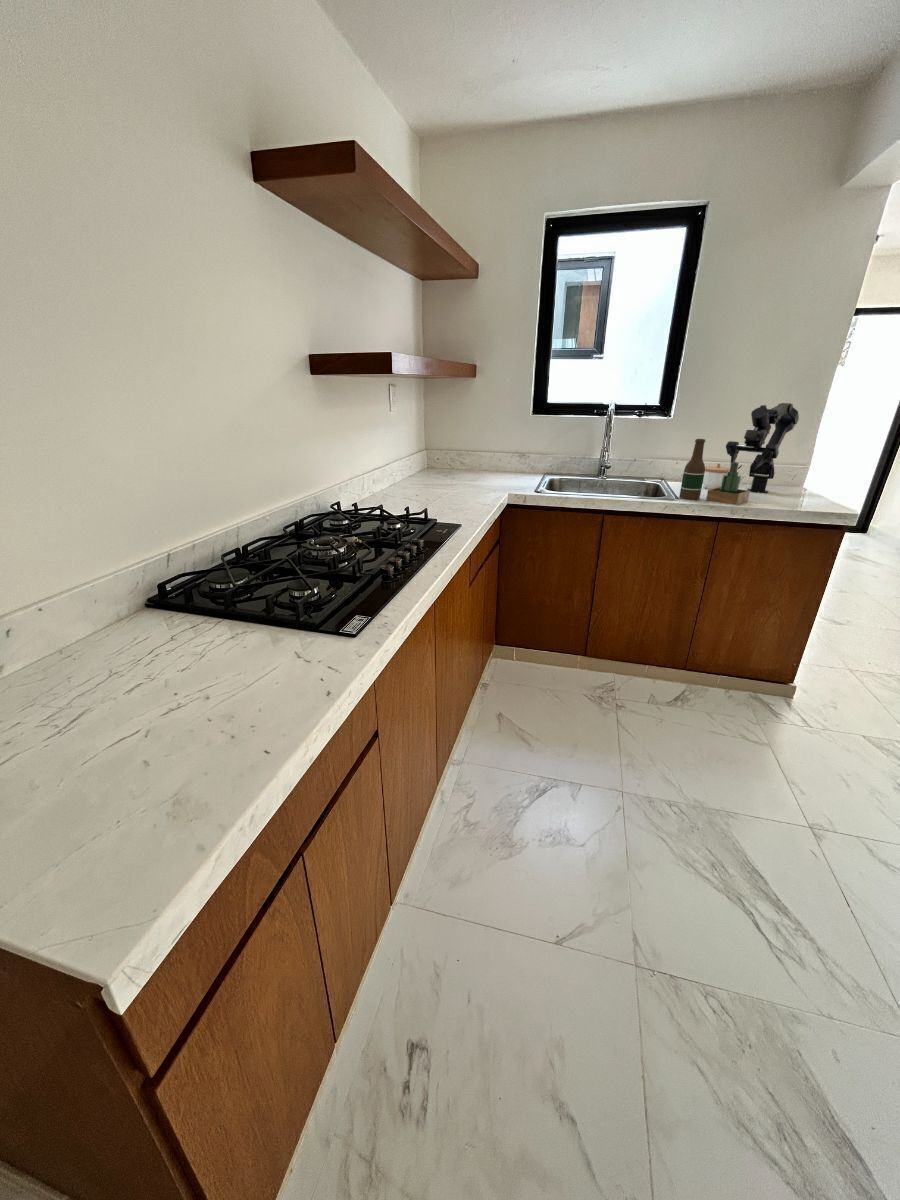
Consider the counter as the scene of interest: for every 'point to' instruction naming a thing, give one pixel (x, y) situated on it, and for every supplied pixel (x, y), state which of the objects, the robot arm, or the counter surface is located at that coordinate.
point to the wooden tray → (727, 496)
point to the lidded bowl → (714, 476)
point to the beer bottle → (693, 474)
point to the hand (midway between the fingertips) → (743, 466)
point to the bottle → (731, 480)
